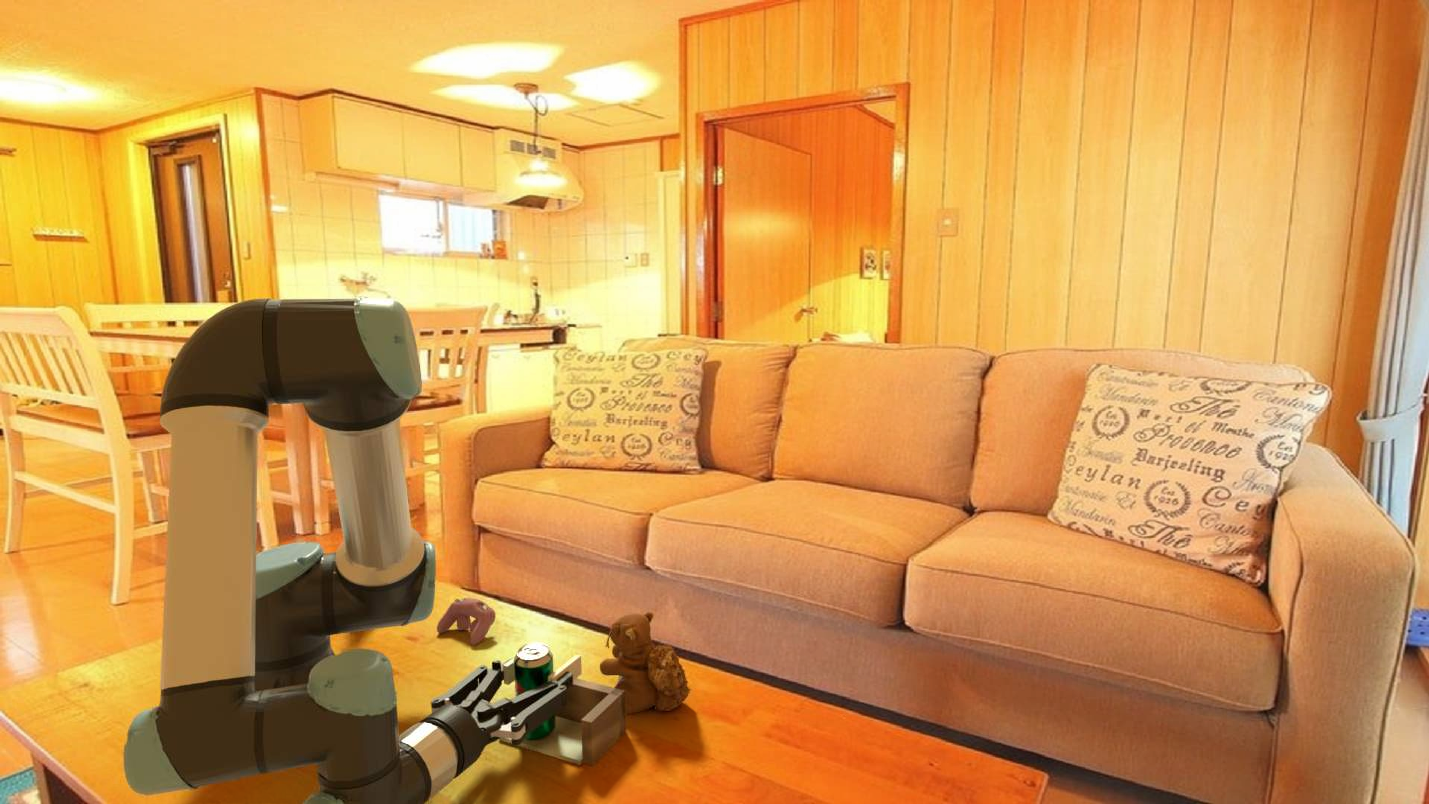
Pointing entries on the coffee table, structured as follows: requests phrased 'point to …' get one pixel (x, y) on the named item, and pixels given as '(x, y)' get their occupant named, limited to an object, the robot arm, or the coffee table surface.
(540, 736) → the soda can
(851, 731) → the coffee table surface
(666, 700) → the stuffed squirrel
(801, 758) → the coffee table surface
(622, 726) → the brown wooden angled piece
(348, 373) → the robot arm
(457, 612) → the video game controller
